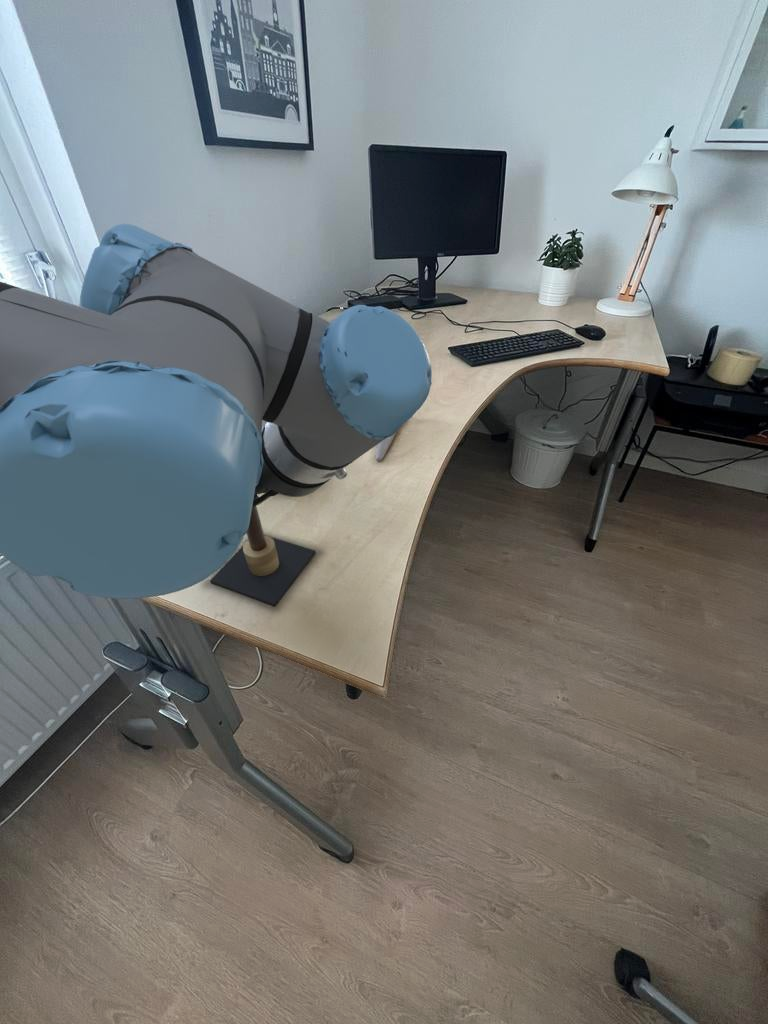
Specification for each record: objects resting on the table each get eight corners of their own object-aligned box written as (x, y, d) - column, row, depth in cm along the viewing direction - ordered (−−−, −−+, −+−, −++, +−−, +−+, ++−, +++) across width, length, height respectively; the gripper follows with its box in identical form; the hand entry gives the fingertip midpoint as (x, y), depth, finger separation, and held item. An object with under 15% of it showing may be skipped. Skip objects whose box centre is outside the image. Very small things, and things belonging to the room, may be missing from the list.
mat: (275, 606, 59) (274, 604, 58) (210, 583, 62) (209, 580, 62) (315, 552, 66) (315, 550, 66) (256, 534, 70) (255, 532, 69)
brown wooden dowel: (250, 579, 62) (211, 462, 49) (248, 558, 65) (211, 442, 52) (281, 572, 63) (250, 455, 50) (277, 551, 66) (248, 436, 53)
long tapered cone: (405, 445, 82) (407, 392, 95) (372, 448, 83) (378, 395, 96) (408, 468, 86) (410, 414, 99) (377, 471, 87) (382, 417, 100)
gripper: (199, 556, 32) (173, 583, 50) (416, 429, 46) (335, 486, 63) (141, 470, 32) (136, 529, 49) (378, 368, 45) (307, 443, 63)
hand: (248, 505), depth 56 cm, fingers open, 13 cm apart
